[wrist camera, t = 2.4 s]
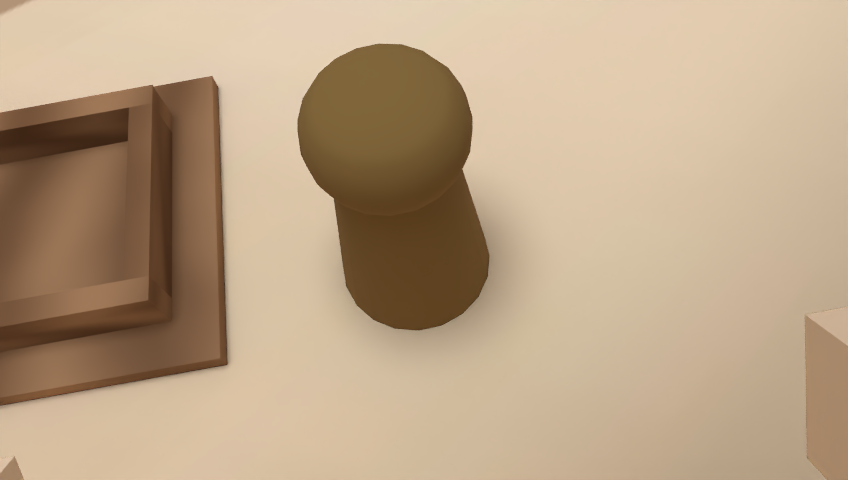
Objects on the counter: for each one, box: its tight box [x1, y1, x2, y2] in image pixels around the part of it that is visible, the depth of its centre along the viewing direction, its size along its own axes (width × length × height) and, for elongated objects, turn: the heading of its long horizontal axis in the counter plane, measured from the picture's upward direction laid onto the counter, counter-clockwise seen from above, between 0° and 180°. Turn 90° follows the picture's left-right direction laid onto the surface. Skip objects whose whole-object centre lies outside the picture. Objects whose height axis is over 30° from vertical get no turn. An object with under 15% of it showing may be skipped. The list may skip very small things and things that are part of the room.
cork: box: [298, 44, 489, 330], centre depth 25 cm, size 6×6×11 cm
